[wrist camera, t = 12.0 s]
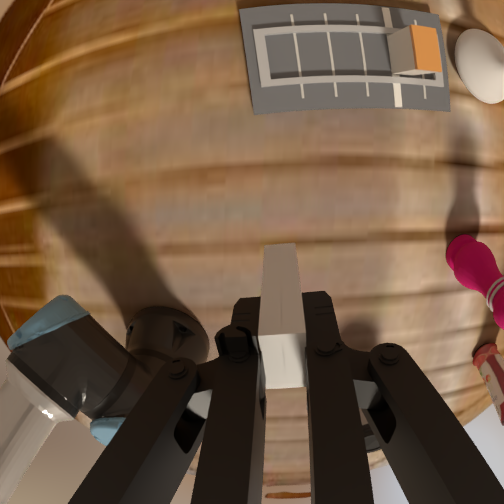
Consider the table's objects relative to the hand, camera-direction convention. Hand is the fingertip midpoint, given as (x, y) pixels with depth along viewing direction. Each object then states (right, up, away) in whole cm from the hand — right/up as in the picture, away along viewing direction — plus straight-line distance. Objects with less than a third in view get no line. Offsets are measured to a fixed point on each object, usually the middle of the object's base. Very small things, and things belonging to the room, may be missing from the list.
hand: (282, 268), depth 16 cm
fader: (+17, +25, +13) cm, 33 cm away
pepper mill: (+32, +1, +27) cm, 42 cm away
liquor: (+49, -21, +37) cm, 65 cm away
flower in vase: (+31, +27, +14) cm, 43 cm away
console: (+11, +25, +16) cm, 32 cm away
